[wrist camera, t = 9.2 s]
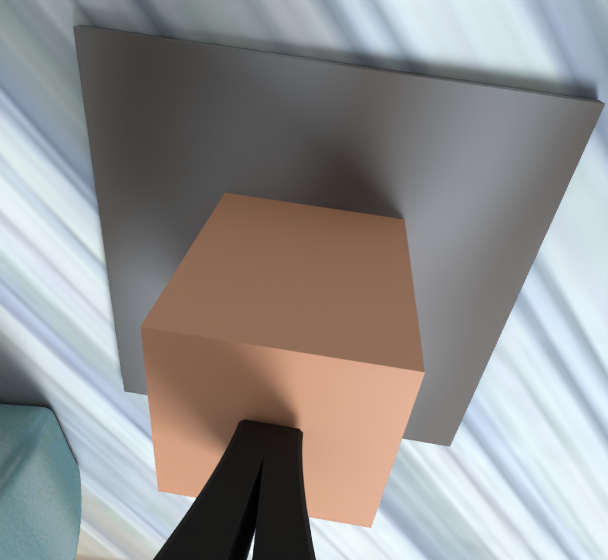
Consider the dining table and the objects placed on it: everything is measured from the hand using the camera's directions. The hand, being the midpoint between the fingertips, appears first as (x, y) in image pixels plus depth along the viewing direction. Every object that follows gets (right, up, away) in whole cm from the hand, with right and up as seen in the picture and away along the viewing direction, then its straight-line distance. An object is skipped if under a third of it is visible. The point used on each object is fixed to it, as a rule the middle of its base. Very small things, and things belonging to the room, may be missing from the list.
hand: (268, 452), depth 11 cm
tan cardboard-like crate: (+1, +4, +6) cm, 7 cm away
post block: (+1, +4, +6) cm, 7 cm away
